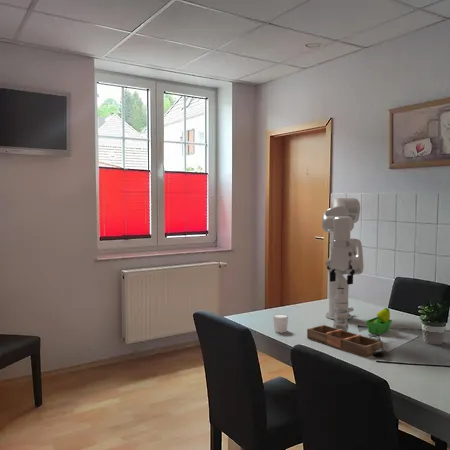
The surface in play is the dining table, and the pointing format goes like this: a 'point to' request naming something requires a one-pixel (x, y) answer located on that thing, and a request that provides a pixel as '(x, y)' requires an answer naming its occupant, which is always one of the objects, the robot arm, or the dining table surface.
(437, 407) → the dining table surface
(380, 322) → the fruit basket
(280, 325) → the white cup
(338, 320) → the plastic bottle
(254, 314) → the dining table surface
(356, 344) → the wooden compartment tray
